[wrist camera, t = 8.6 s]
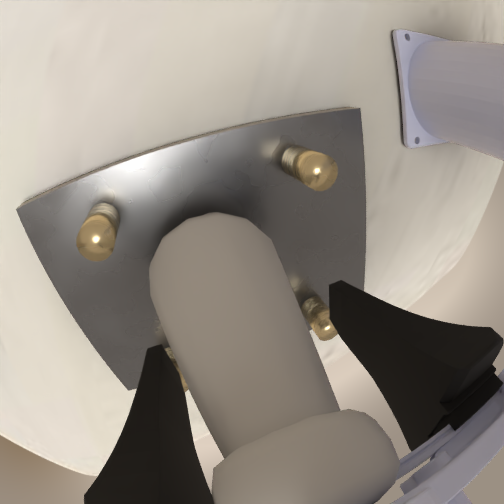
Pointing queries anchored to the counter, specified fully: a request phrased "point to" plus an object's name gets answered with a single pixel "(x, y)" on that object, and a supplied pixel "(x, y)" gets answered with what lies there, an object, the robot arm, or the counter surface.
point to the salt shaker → (260, 373)
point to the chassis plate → (198, 204)
